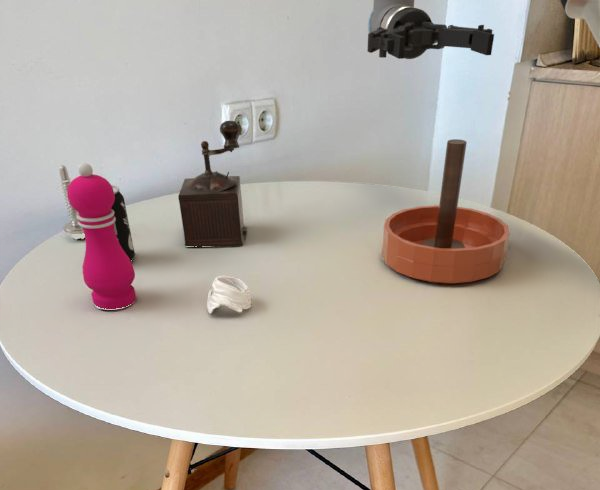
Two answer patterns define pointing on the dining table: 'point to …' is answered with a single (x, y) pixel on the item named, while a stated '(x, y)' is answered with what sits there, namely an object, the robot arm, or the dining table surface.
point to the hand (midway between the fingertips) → (446, 46)
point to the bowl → (444, 261)
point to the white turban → (229, 294)
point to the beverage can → (122, 224)
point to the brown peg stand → (449, 197)
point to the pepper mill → (101, 241)
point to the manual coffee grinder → (214, 200)
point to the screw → (73, 225)
